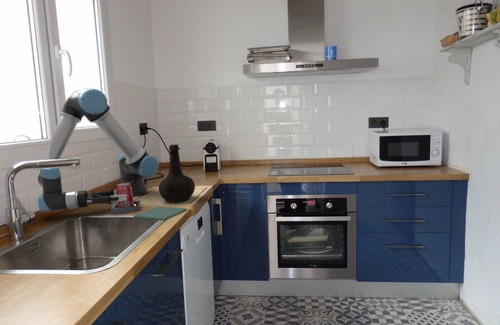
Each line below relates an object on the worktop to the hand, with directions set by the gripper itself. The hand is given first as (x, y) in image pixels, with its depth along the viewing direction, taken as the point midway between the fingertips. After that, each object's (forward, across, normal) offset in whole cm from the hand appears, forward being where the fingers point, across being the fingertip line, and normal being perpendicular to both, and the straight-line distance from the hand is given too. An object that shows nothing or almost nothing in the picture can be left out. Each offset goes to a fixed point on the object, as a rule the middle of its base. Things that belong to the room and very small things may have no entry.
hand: (127, 194), depth 169 cm
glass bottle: (+23, -7, -7) cm, 25 cm away
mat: (+14, +16, -7) cm, 22 cm away
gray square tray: (-1, 0, -7) cm, 7 cm away
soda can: (-1, 0, -7) cm, 7 cm away
